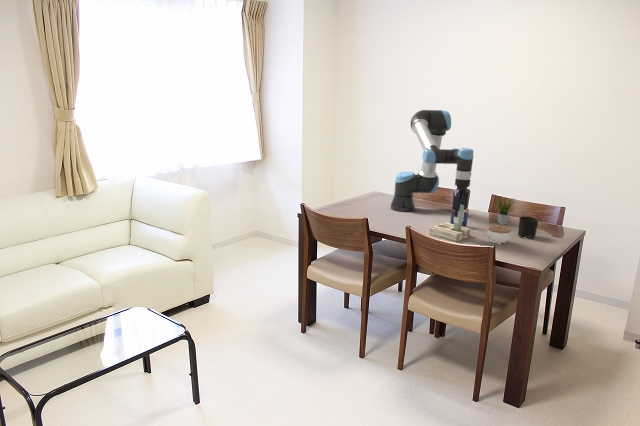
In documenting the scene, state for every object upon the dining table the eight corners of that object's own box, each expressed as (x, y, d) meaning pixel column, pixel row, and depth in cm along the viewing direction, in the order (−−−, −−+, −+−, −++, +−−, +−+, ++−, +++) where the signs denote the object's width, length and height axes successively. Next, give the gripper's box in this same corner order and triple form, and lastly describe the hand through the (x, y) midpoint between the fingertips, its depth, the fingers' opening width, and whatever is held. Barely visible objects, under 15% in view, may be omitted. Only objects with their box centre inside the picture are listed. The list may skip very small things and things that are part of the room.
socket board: (444, 229, 287) (445, 222, 286) (470, 235, 276) (471, 228, 275) (429, 234, 276) (429, 227, 275) (455, 242, 265) (456, 234, 264)
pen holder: (514, 236, 278) (516, 218, 276) (521, 232, 285) (523, 215, 282) (531, 240, 272) (534, 222, 270) (538, 236, 279) (541, 219, 276)
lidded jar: (483, 239, 272) (486, 222, 269) (503, 239, 273) (505, 222, 270) (492, 245, 262) (494, 228, 259) (512, 245, 263) (514, 228, 260)
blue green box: (466, 226, 294) (468, 208, 291) (466, 227, 291) (468, 209, 289) (450, 224, 297) (452, 206, 294) (450, 225, 294) (451, 207, 291)
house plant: (518, 222, 305) (522, 195, 301) (516, 228, 293) (520, 200, 288) (493, 218, 311) (497, 192, 306) (490, 224, 299) (494, 197, 294)
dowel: (455, 228, 275) (458, 203, 271) (462, 230, 273) (465, 205, 269) (451, 230, 272) (454, 204, 269) (458, 232, 270) (461, 206, 266)
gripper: (461, 181, 256) (456, 226, 263) (477, 177, 268) (472, 220, 275) (448, 179, 261) (443, 223, 268) (464, 175, 273) (459, 217, 280)
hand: (458, 221), depth 271 cm, fingers closed on dowel, 4 cm apart
